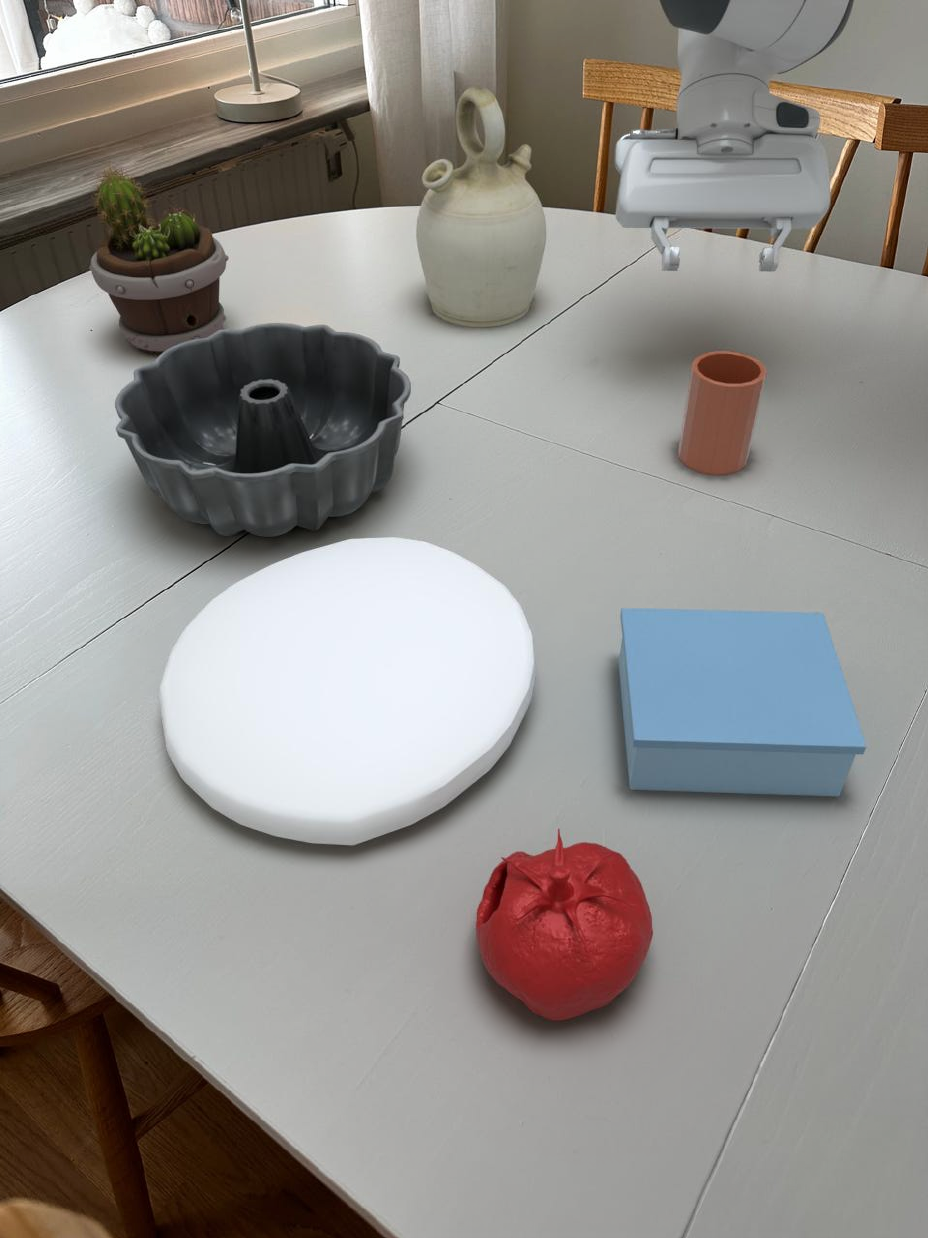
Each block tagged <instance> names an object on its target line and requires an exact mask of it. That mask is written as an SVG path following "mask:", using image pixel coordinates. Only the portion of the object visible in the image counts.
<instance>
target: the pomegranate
mask: <svg viewBox="0 0 928 1238" xmlns="http://www.w3.org/2000/svg"><path fill="white" fill-rule="evenodd" d="M560 830H561V829H560V828H558V829H557V842H556V845H555V847H554V848H551V849H547V850H545V851H543V852H541V853H538V854H535V855H532V854H529V853H527V852H525V851H521V850H519V851H515V852H513V853H511V854H510V855H509V856H507V857H502V856H500V859H501V860H502V861H501V862H499V864H498V865H497V866H496V867H494V869H493V870H492V872H491V873H490V877H489V879H488V881H487V883H486V885H485V886H484V889H483V893H482V897H481V900H480V901H479V904H478V906H477V908H476V909H477V910H476V921H475V934H476V940H477V943H478V944H477V945H478V950H479V954H480V957H481V959H482V962H483V964H484V967H485V969H486V971H487V972H488V974H489V975H490V976H491V977H492V978H493V980H494V981H495V983H497V985H499V986H500V987H502V988H504V989H505V990H506V991H507V992H508V993H510V994H511V995H512V996H513V997H515V998H516V999H518V1000H520V1001H522V1002H523V1004H524V1005H525V1006H526V1007H527V1008H528V1009H529V1010H530V1012H532V1013H533V1014H534V1015H535V1014H536V1015H538V1016H541V1017H543V1018H545V1019H546V1020H548V1021H565V1020H569V1019H572V1018H575V1017H578V1016H582V1015H583V1014H586V1013H589V1012H591V1011H593V1010H599V1009H601V1008H602V1007H605V1006H607V1005H609V1004H610V1003H611V1002H612V1001H614V999H615V998H616V997H617V996H618V995H619V994H621V993H622V992H623V991H625V990H626V989H627V988H628V987H629V986H630V985H631V983H632V982H633V981H634V979H635V977H637V975H638V973H639V972H640V969H641V967H642V966H643V963H644V962H645V959H646V957H647V954H648V952H649V949H650V946H651V943H652V940H653V935H654V929H653V915H652V912H651V908H650V905H649V903H648V901H647V900H648V899H647V896H646V893H645V890H644V888H643V885H642V882H641V881H640V878H639V877H638V875H637V874H636V873H635V871H634V870H633V869H632V868H631V865H630V864H629V862H628V861H627V858H625V856H624V855H622V854H621V853H620V852H617V851H616V850H612V849H610V848H608V847H607V846H603V845H602V844H599V843H596V842H586V841H584V842H577V843H574V844H572V845H569V846H567V847H564V844H563V840H562V838H561V833H560V832H561V831H560Z"/></svg>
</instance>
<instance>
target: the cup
mask: <svg viewBox="0 0 928 1238" xmlns="http://www.w3.org/2000/svg"><path fill="white" fill-rule="evenodd" d="M766 377H767V370H766V366H765V365H764V364H763V363H762V362H761V361H760V360H759V359H757V358H756V357H754V356H751V355H748V354H746V353H743V352H738V351H737V352H736V351H733V350H730V351H729V350H728V351H727V350H716V351H709V352H705V353H703V354H701V355H699V356H697V357H695V358H694V360H693V362H692V364H691V367H690V374H689V378H688V379H689V380H688V385H687V391H686V398H685V405H684V412H683V416H682V423H681V430H680V437H679V443H678V448H677V453H678V454H677V455H678V458H679V460H680V462H681V463H682V464H683V465H684V466H685V467H687V468H688V469H690V470H692V471H694V472H697V473H699V474H703V475H707V476H719V477H720V476H729V475H732V474H736V473H738V472H740V471H742V470H743V469H744V468H745V467H746V465H747V463H748V460H749V455H750V451H751V446H752V442H753V437H754V432H755V428H756V423H757V419H758V415H759V414H758V413H759V410H760V405H761V401H762V395H763V392H764V387H765V381H766Z"/></svg>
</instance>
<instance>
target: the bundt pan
mask: <svg viewBox="0 0 928 1238" xmlns="http://www.w3.org/2000/svg"><path fill="white" fill-rule="evenodd" d="M400 365H401V358H400V356H398V355H396V354H393V353H388V352H385V351H383V350H382V348H381V346H380V344H379V343H378V342H376V341H375V340H374V339H372V338H369V337H368V336H364V335H362V334H359V333H354V332H349V331H348V332H347V331H336V330H335V329H333V328H331V327H330V326H328V325H326V324H314V325H308V326H307V325H306V326H303V325H299V324H295V323H288V322H268V323H267V322H266V323H260V324H256V325H251V326H248V327H245V328H242V329H234V328H233V329H231V328H222V329H221V330H218V331H217V332H215V333H214V334H212V335H210V336H209V337H207V338H200V339H194V340H190V341H187V342H183V343H180V344H178V345H176V346H173V347H171V348H169V349H168V350H166V351H164V352H163V353H162V354H161V355H158V357H156V359H155V360H154V361H153V362H151V363H148V364H144V365H142V366H139V367H138V368H135V369H134V371H133V380H132V381H130V382H129V383H127V384H126V385H125V386H124V387H123V388H122V389H120V391H119V393H118V394H117V396H116V397H115V401H114V408H115V411H116V414H117V416H118V418H119V419H120V420H119V421H118V423H117V425H116V426H115V431H116V434H117V436H118V437H119V438H121V439H124V441H125V443H126V445H127V447H128V449H129V451H130V453H131V455H132V457H133V459H134V461H135V463H136V466H137V467H138V469H139V471H140V474H141V475H142V477H143V480H144V481H145V483H146V484H147V486H148V488H150V490H151V491H152V492H153V493H154V494H156V495H157V496H158V497H160V498H162V499H163V500H164V501H165V503H166V504H167V505H168V507H169V508H170V510H172V511H173V512H174V513H175V514H176V515H178V516H179V517H181V518H183V519H184V520H186V521H189V522H191V523H196V524H201V525H210V527H211V528H212V529H213V530H214V531H215V532H216V533H217V534H218V535H221V536H224V537H225V536H226V537H231V536H234V535H236V534H238V533H240V532H242V531H244V530H245V531H246V532H248V533H249V534H252V535H255V536H258V537H261V538H262V537H263V538H272V537H278V536H282V535H284V534H286V533H289V531H291V530H293V529H294V528H295V527H296V526H297V527H300V528H303V529H305V530H310V531H311V532H317V531H318V530H319V529H320V528H321V527H322V526H323V524H324V523H325V522H326V520H327V519H328V518H335V517H336V518H337V517H344V516H346V515H349V514H352V513H353V512H355V511H357V510H358V509H359V508H361V507H362V505H363V504H364V503H365V502H367V500H368V498H369V497H370V495H371V494H373V493H376V492H378V491H380V490H381V489H382V488H384V487H386V485H387V484H388V482H389V481H390V480H391V477H392V474H393V471H394V467H395V459H396V458H395V457H396V455H397V453H398V451H399V448H400V444H401V436H402V427H403V420H404V418H405V415H404V411H405V410H404V409H405V404H406V402H407V401H408V400H409V398H410V397H411V391H412V383H411V379H410V378H409V376H408V375H407V374H406V373H405V371H403V370H402V369H400Z"/></svg>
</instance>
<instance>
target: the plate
mask: <svg viewBox="0 0 928 1238" xmlns="http://www.w3.org/2000/svg"><path fill="white" fill-rule="evenodd" d="M536 677H537V665H536V654H535V642H534V637H533V632H532V631H531V629H530V625H529V624H528V620H527V618H526V616H525V613H524V611H523V608H522V606H521V604H520V603H519V602H518V600H517V599H516V598H515V596H513V594H512V593H511V592H510V590H509V589H508V588H507V587H506V586H505V585H504V584H503V583H502V582H501V581H499V580H498V579H496V578H495V577H493V575H491V574H489V573H488V572H487V571H485V570H484V569H483V568H481V567H480V566H478V564H476V563H473V562H472V561H470V560H468V559H467V558H465V557H463V556H462V555H459V554H457V553H456V552H453V551H451V550H448V549H446V548H443V547H441V546H439V545H436V544H433V543H430V542H428V541H424V540H417V539H412V538H404V537H398V536H388V537H385V536H383V537H364V538H362V537H361V538H348V539H345V540H341V541H338V542H333V543H331V544H327V545H324V546H320V547H316V548H313V549H309V550H306V551H303V552H299V553H297V554H294V555H292V556H290V557H288V558H284V559H282V560H279V561H276V562H274V563H272V564H269V565H267V566H265V567H263V568H262V569H259V570H258V571H256V572H254V573H252V574H250V575H248V576H246V577H244V578H242V579H240V580H238V581H237V582H235V583H233V584H232V585H230V586H229V587H227V588H226V589H225V590H223V591H222V592H221V593H219V594H218V595H217V596H215V597H214V598H213V599H211V600H210V601H209V602H208V603H207V604H206V605H204V607H203V608H202V609H201V610H200V611H199V613H198V614H197V615H196V616H195V617H194V618H193V619H192V620H191V621H190V622H189V623H188V624H187V625H186V627H185V628H184V629H183V631H182V633H181V634H180V636H179V637H178V639H177V641H176V642H175V644H174V646H173V647H172V649H171V651H170V653H169V656H168V659H167V663H166V666H165V669H164V672H163V675H162V679H161V681H160V685H159V688H158V703H159V710H160V715H161V721H162V730H163V736H164V741H165V748H166V751H167V754H168V756H169V758H170V760H171V762H172V764H173V765H174V768H175V769H176V771H177V773H178V775H179V777H180V778H181V779H182V780H183V782H184V783H185V784H186V785H187V786H189V788H191V789H192V791H194V792H195V793H196V795H198V796H199V797H200V798H201V799H202V800H203V801H204V802H205V803H206V804H207V805H208V806H209V807H210V808H211V809H213V810H215V811H216V812H218V813H220V814H221V815H223V816H225V817H227V818H228V819H230V820H231V821H233V822H235V823H237V824H238V825H240V826H244V827H247V828H250V829H252V830H255V831H258V832H261V833H263V834H267V835H270V836H273V837H277V838H282V839H289V840H293V841H298V842H304V843H310V844H323V845H324V844H325V845H337V846H338V845H339V846H355V845H358V844H361V843H364V842H366V841H367V842H368V841H370V840H373V839H375V838H378V837H381V836H383V835H384V836H385V835H386V834H389V833H392V832H395V831H398V830H401V829H403V828H406V827H409V826H412V825H414V824H416V823H417V822H419V821H421V820H423V819H425V818H426V817H428V816H430V815H431V814H433V813H436V812H437V811H439V810H441V809H443V808H444V807H446V806H447V805H448V804H449V803H450V802H452V801H453V800H454V799H456V798H457V797H458V796H459V795H461V794H462V793H463V792H464V791H466V790H468V788H470V786H472V785H473V784H474V783H476V782H477V781H478V780H480V779H481V778H482V777H483V776H484V775H486V774H487V773H488V772H489V771H490V770H491V769H492V768H493V767H494V765H496V763H498V761H499V760H500V758H501V757H502V756H503V754H505V752H506V751H507V749H508V748H509V747H510V746H511V744H512V741H513V739H514V738H515V735H516V733H517V731H518V730H519V727H520V725H521V723H522V721H523V719H524V717H525V715H526V713H527V711H528V710H529V709H528V708H529V707H530V705H531V703H532V698H533V697H532V696H533V691H534V686H535V683H536Z"/></svg>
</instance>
